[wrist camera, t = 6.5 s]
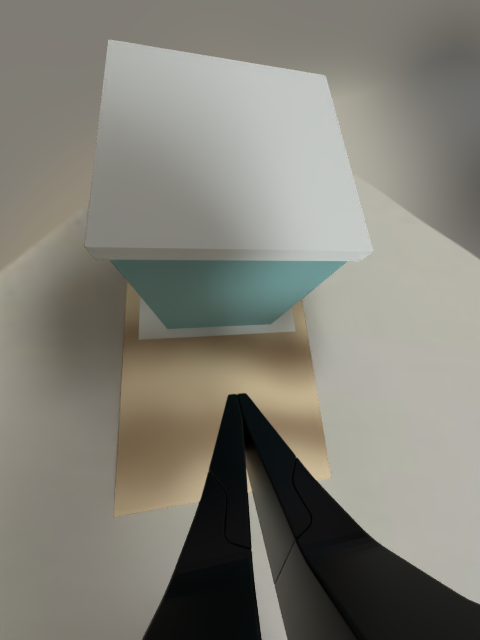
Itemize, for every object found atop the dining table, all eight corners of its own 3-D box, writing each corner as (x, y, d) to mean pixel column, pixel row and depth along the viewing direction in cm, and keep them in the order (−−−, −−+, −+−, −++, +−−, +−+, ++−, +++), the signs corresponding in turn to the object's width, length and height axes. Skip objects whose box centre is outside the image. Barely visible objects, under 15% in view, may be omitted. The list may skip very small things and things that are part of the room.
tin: (273, 326, 17) (373, 251, 7) (164, 331, 15) (84, 246, 5) (262, 236, 19) (325, 75, 9) (165, 233, 18) (108, 39, 7)
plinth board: (326, 474, 15) (354, 496, 12) (117, 511, 13) (92, 549, 10) (288, 235, 20) (301, 212, 17) (132, 231, 18) (118, 203, 15)
